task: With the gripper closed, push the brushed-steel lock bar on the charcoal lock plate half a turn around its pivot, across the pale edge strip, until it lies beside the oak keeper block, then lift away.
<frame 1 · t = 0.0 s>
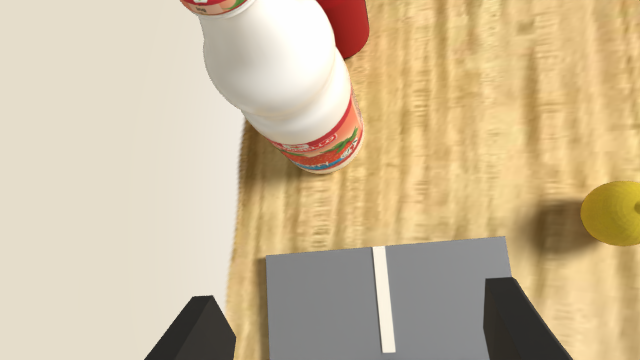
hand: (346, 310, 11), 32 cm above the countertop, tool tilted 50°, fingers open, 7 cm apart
lock plate: (387, 327, 41), on the countertop
beverage can: (342, 37, 49), on the countertop
lemon: (598, 219, 39), on the countertop
fruit juice: (324, 136, 47), on the countertop
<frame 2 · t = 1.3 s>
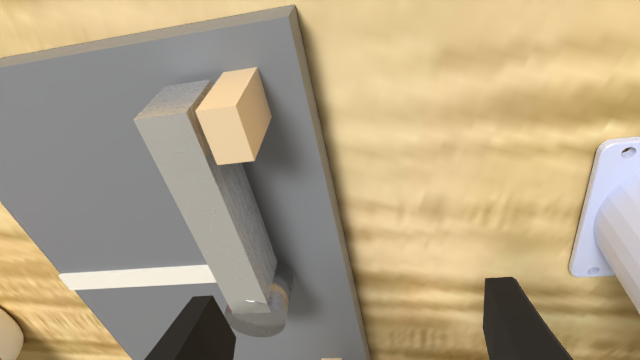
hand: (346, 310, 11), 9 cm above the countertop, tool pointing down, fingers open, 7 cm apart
lock plate: (204, 252, 23), on the countertop
lock bar: (230, 228, 17), point 3 cm above the countertop, hinge at 0.0°
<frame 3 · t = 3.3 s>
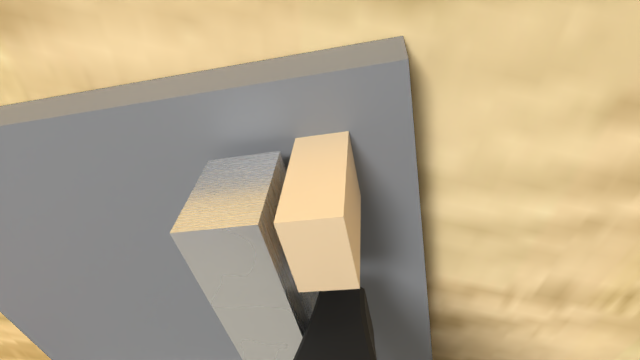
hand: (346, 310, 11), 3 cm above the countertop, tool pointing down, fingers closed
lock plate: (242, 337, 18), on the countertop
lock bar: (295, 344, 12), point 3 cm above the countertop, hinge at 0.0°, touching gripper
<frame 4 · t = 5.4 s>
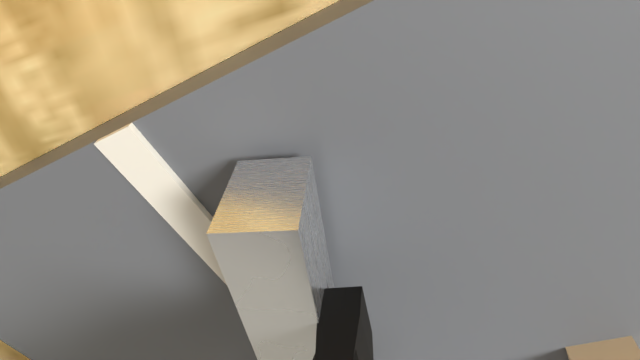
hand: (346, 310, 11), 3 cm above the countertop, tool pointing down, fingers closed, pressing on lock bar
lock plate: (283, 279, 15), on the countertop
lock bar: (306, 347, 12), point 3 cm above the countertop, hinge at 70.4°, touching gripper
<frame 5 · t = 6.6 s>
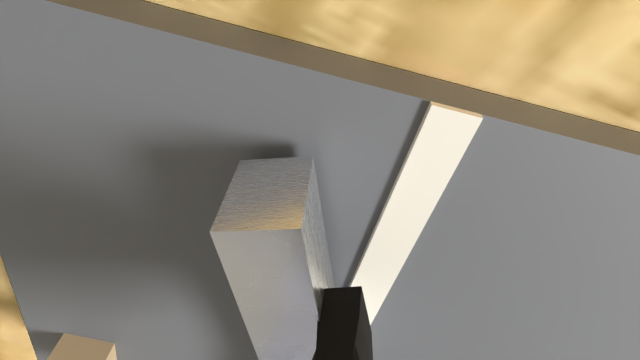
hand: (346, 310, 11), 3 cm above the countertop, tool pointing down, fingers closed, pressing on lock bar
lock plate: (355, 278, 15), on the countertop
lock bar: (306, 346, 12), point 3 cm above the countertop, hinge at 110.6°, touching gripper
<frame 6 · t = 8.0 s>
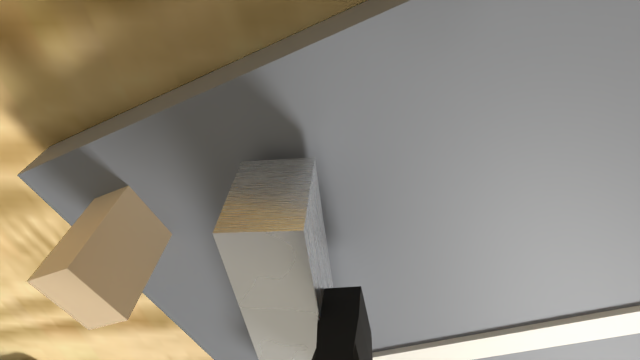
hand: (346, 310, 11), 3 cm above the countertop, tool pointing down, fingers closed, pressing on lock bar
lock plate: (417, 318, 16), on the countertop
lock bar: (305, 346, 12), point 3 cm above the countertop, hinge at 161.5°, touching gripper
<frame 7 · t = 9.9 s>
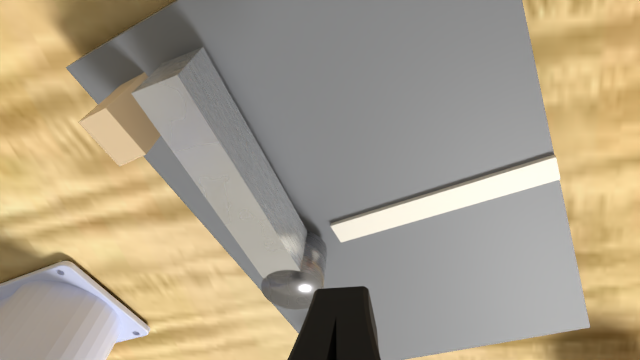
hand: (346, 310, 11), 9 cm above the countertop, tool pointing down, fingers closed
lock plate: (373, 200, 21), on the countertop
lock bar: (251, 198, 17), point 3 cm above the countertop, hinge at 175.2°
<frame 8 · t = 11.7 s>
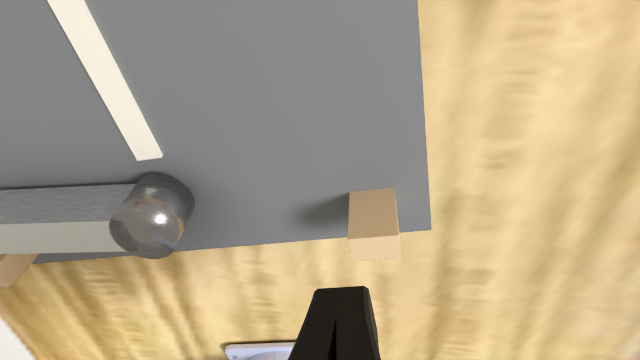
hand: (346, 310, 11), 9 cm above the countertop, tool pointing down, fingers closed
lock plate: (145, 101, 18), on the countertop
lock bar: (62, 219, 19), point 3 cm above the countertop, hinge at 175.2°
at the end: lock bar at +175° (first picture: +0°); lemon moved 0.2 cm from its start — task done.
